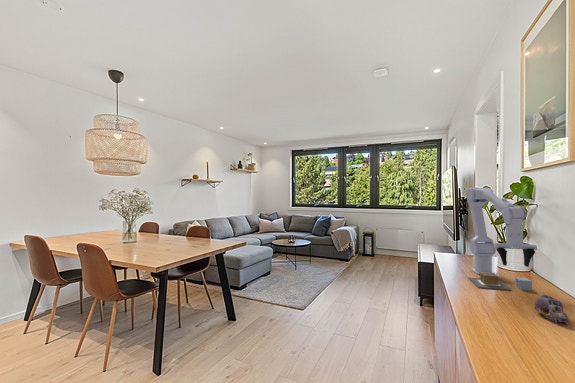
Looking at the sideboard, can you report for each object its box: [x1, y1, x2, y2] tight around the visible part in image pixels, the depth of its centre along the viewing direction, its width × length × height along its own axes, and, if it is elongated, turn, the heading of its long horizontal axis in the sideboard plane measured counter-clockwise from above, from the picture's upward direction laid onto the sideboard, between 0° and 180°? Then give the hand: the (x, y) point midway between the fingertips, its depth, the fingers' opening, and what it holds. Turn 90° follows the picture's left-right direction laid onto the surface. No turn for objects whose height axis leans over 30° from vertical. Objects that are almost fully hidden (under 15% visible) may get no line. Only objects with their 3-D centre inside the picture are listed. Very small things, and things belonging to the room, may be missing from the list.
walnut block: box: [479, 272, 499, 285], centre depth 120 cm, size 5×5×4 cm
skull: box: [534, 294, 569, 326], centre depth 87 cm, size 12×8×6 cm, turn 150°
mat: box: [468, 277, 513, 292], centre depth 120 cm, size 14×12×1 cm
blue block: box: [515, 277, 533, 291], centre depth 115 cm, size 4×4×4 cm
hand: (515, 265), depth 116 cm, fingers open, 7 cm apart
